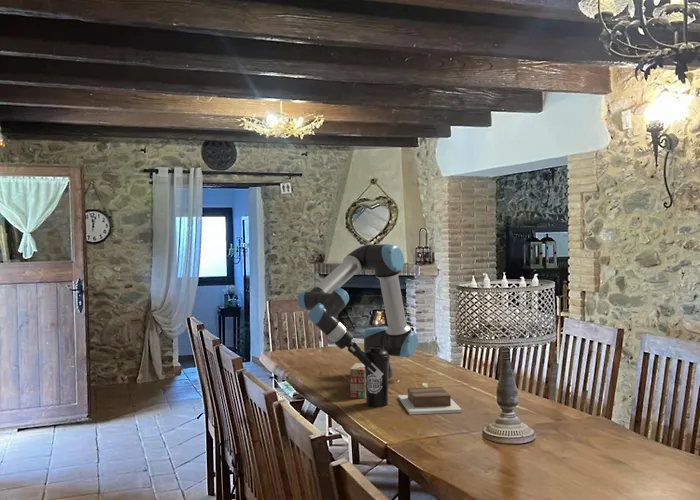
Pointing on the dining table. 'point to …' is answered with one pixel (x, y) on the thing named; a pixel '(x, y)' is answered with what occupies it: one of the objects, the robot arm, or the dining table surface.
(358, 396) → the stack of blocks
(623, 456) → the dining table surface
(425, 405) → the plinth
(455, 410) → the base board
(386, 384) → the water bottle
